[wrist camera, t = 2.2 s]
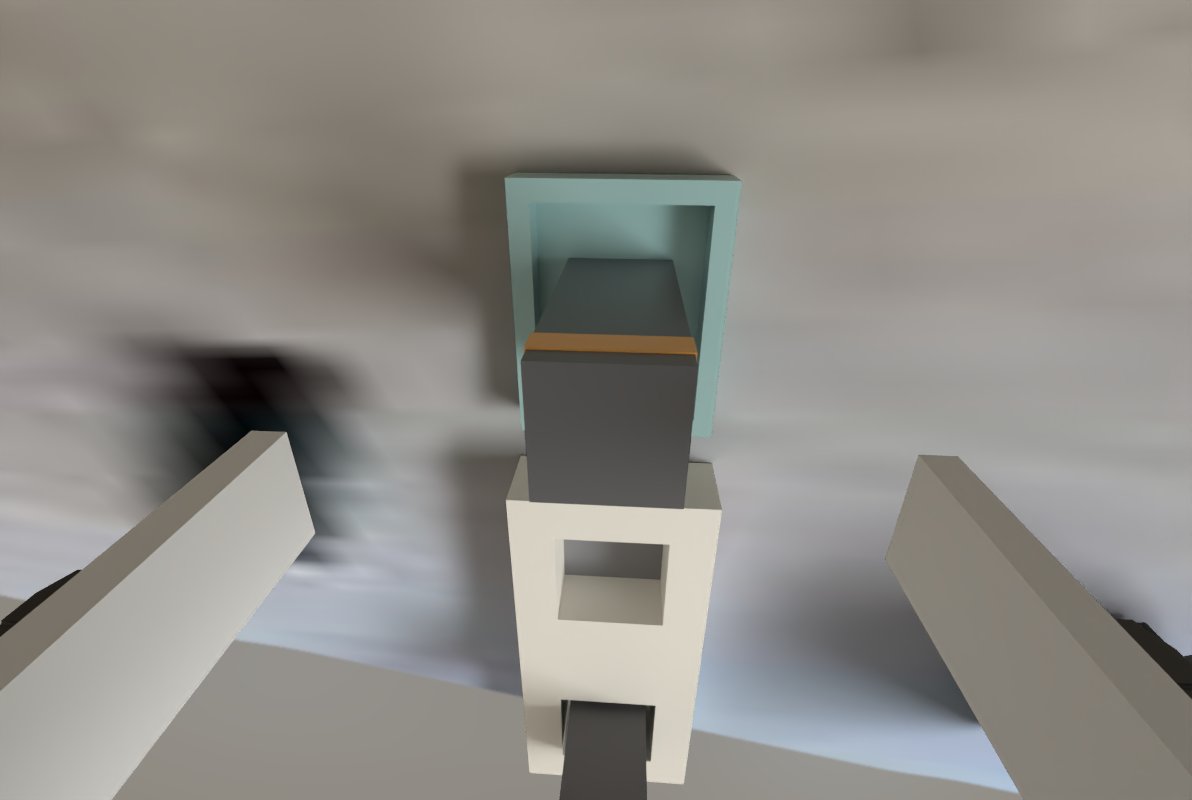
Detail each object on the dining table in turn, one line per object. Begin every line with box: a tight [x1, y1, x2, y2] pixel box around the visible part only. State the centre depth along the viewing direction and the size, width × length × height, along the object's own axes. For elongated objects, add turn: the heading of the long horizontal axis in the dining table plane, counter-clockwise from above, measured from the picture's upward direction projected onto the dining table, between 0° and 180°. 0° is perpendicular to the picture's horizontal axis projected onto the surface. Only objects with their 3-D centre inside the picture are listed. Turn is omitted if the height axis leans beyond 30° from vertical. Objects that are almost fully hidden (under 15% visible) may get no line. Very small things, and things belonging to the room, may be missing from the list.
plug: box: [521, 258, 698, 509], centre depth 18 cm, size 4×4×10 cm
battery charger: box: [506, 456, 722, 800], centre depth 26 cm, size 20×9×10 cm, turn 0°
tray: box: [505, 173, 742, 437], centre depth 22 cm, size 10×8×2 cm
